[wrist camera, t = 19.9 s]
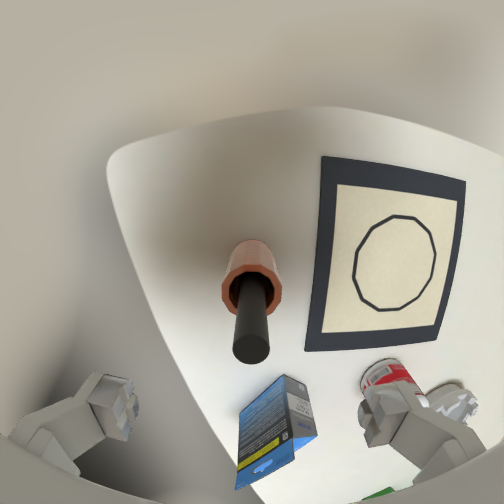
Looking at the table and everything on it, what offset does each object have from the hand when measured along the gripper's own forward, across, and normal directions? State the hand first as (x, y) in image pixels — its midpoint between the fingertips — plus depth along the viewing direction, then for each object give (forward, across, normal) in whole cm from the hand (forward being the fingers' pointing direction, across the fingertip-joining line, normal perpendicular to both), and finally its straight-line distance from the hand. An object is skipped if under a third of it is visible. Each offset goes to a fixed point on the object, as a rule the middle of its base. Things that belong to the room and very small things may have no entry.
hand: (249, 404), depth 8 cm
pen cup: (+18, 0, 0) cm, 18 cm away
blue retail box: (+18, -3, +18) cm, 26 cm away
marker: (+18, 0, +1) cm, 18 cm away
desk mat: (+18, -15, 0) cm, 24 cm away
